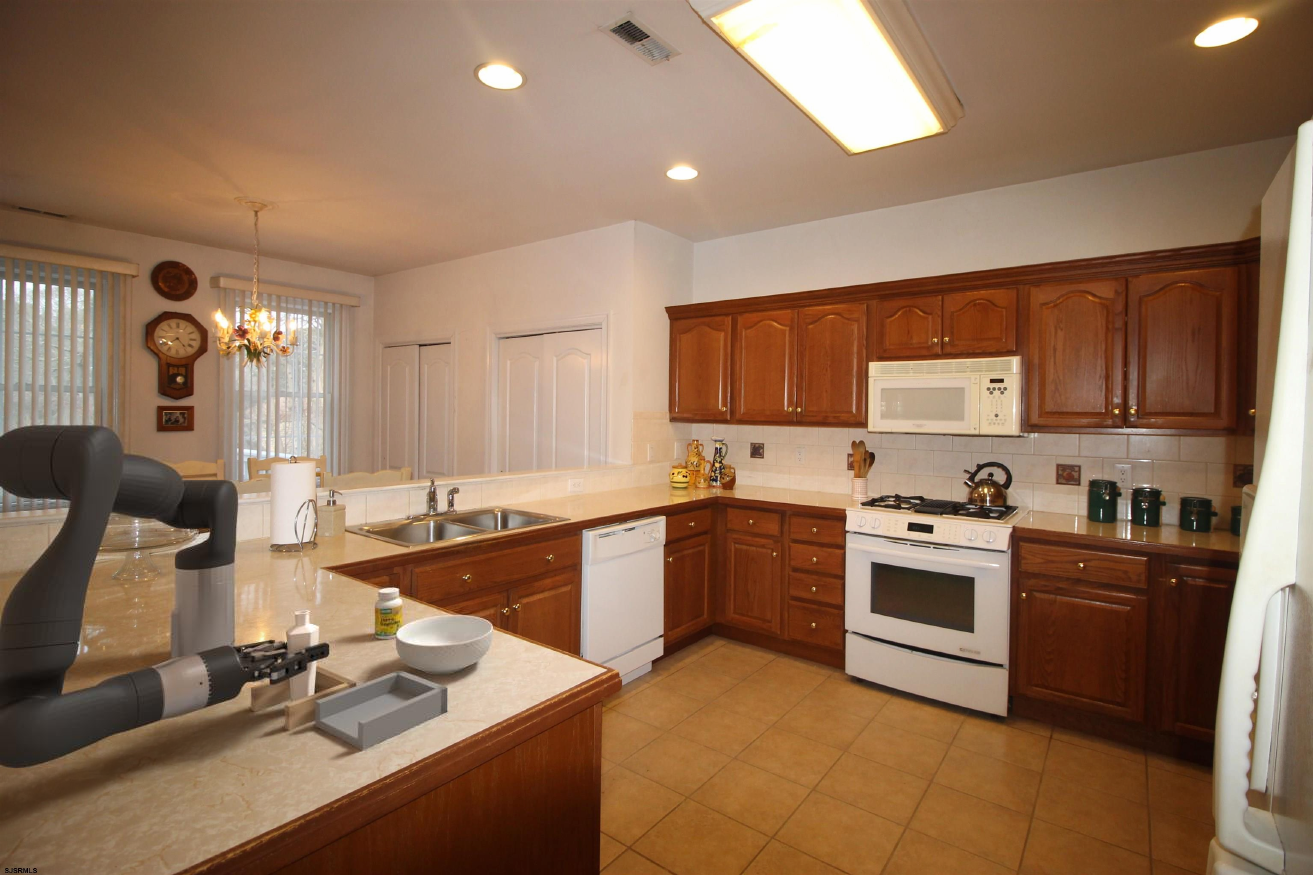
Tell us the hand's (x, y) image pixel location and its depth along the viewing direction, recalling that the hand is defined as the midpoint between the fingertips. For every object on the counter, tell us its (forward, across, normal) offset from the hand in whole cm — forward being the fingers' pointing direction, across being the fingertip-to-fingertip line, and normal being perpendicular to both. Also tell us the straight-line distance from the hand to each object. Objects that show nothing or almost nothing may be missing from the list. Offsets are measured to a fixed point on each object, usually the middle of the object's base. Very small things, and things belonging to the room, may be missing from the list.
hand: (318, 645), depth 99 cm
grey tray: (+3, -13, +9) cm, 16 cm away
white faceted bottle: (-3, 0, +9) cm, 10 cm away
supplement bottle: (+25, +19, +9) cm, 33 cm away
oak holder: (-3, 0, +9) cm, 9 cm away
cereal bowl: (+21, -4, +9) cm, 23 cm away
